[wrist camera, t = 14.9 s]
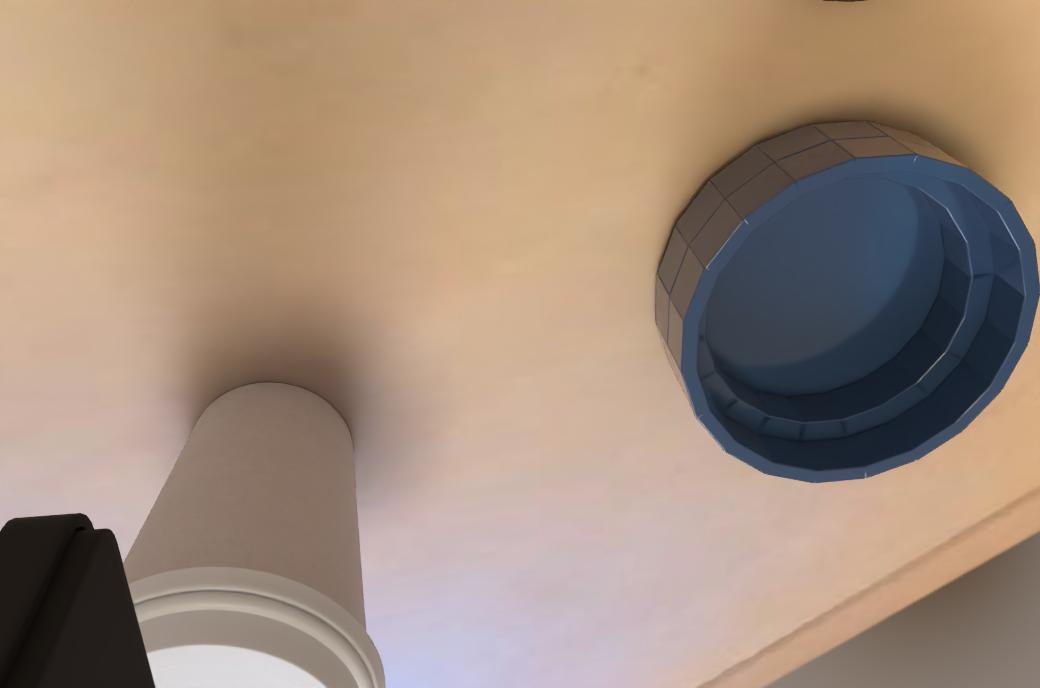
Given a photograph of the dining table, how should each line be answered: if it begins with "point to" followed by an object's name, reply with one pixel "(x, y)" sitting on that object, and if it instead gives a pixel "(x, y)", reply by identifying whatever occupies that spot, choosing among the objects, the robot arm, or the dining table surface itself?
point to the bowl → (844, 301)
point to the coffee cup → (256, 552)
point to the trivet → (845, 0)
